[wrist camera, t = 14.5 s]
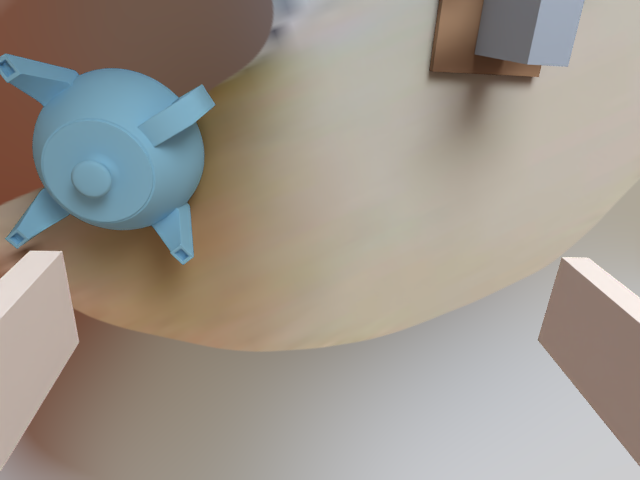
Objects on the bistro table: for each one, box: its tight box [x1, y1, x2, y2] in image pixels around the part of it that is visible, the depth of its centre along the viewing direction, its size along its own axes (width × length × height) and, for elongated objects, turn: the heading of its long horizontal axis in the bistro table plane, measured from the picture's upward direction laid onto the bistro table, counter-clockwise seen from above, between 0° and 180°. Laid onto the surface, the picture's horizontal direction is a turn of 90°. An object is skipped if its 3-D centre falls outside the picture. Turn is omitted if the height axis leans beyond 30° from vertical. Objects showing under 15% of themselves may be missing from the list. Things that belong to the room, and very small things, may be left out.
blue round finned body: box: [0, 54, 215, 265], centre depth 40 cm, size 15×15×11 cm
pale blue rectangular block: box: [475, 0, 584, 67], centre depth 37 cm, size 7×3×10 cm, turn 177°
